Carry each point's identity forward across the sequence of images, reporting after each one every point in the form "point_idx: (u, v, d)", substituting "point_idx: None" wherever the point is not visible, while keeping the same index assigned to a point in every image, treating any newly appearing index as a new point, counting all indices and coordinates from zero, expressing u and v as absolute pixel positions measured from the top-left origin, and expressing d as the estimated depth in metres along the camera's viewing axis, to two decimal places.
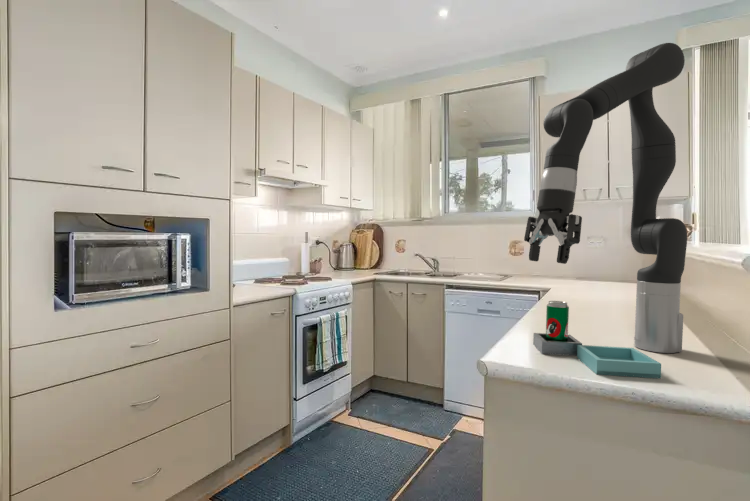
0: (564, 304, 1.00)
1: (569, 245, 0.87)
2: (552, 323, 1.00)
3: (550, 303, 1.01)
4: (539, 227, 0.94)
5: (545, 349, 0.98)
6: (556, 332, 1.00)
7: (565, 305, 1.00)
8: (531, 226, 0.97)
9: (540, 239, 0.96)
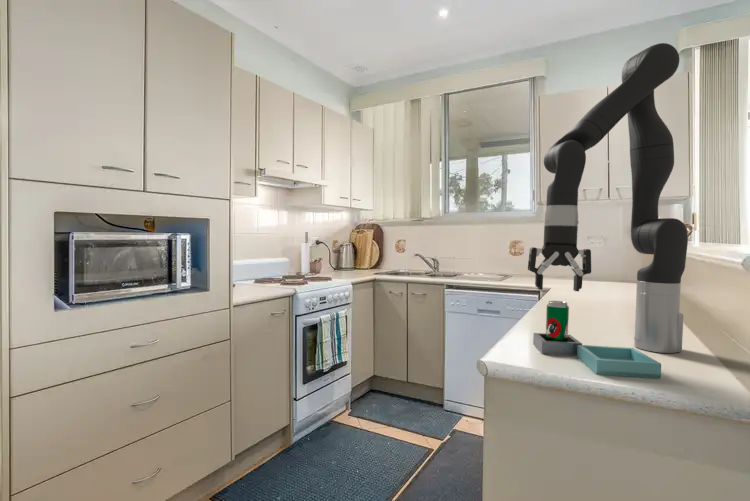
0: (564, 304, 1.00)
1: None
2: (552, 323, 1.00)
3: (550, 303, 1.01)
4: (552, 259, 1.00)
5: (545, 349, 0.98)
6: (556, 332, 1.00)
7: (565, 305, 1.00)
8: None
9: None
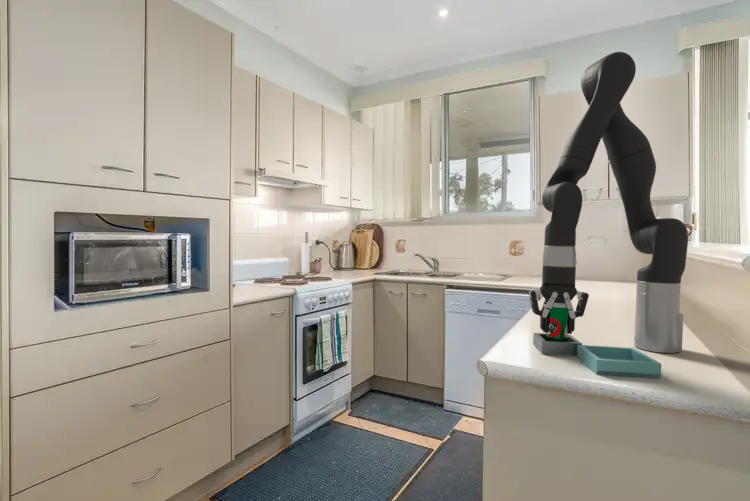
0: (564, 304, 1.00)
1: None
2: (552, 323, 1.00)
3: None
4: (553, 300, 1.00)
5: (545, 349, 0.98)
6: (556, 332, 1.00)
7: (565, 305, 1.00)
8: None
9: None
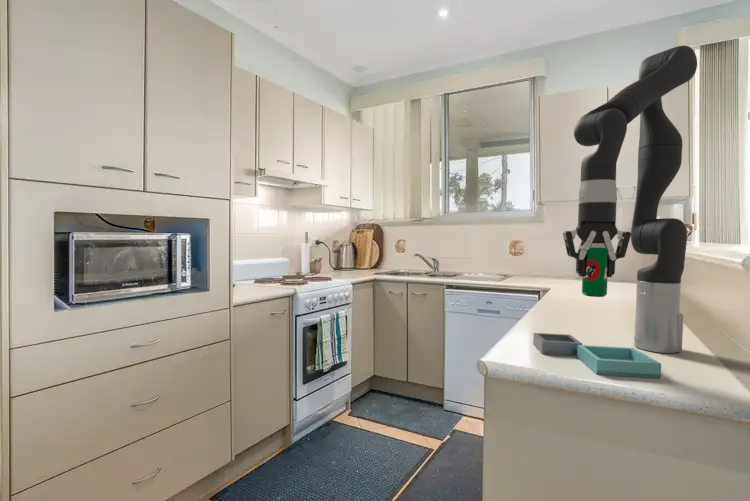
0: (603, 244, 0.91)
1: None
2: (590, 265, 0.92)
3: None
4: (591, 240, 0.92)
5: (545, 349, 0.98)
6: (595, 275, 0.91)
7: (604, 245, 0.91)
8: None
9: None
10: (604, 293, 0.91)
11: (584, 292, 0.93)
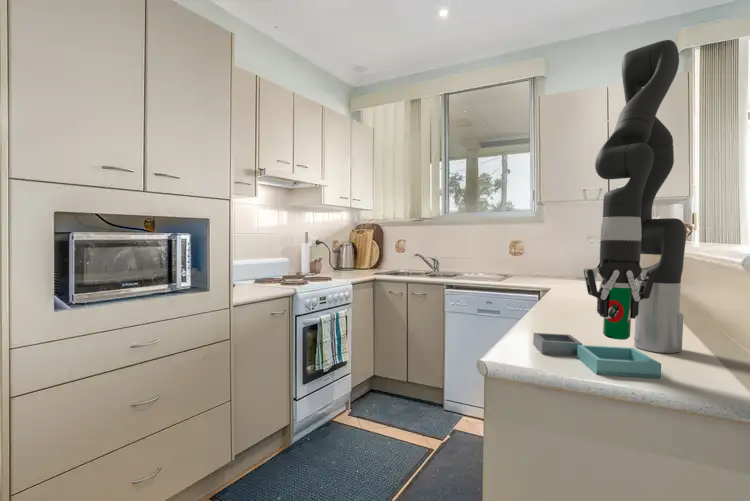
0: (627, 284, 0.87)
1: None
2: (613, 306, 0.87)
3: None
4: (614, 279, 0.87)
5: (545, 349, 0.98)
6: (618, 317, 0.86)
7: (628, 285, 0.87)
8: None
9: None
10: (628, 336, 0.87)
11: (606, 334, 0.88)
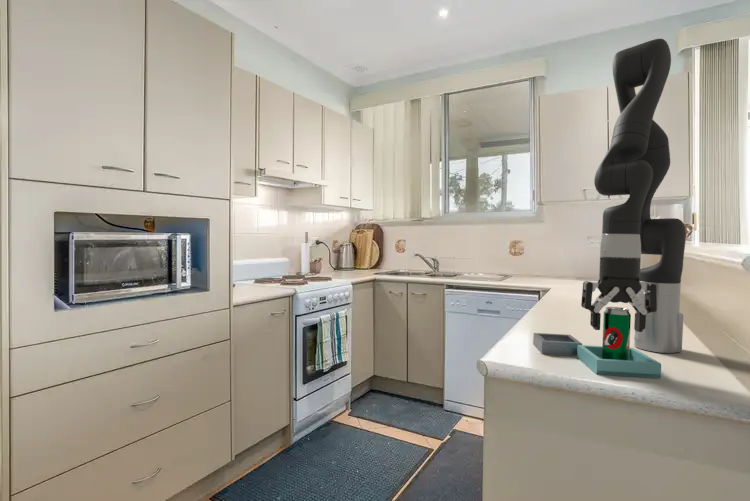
0: (626, 311, 0.87)
1: None
2: (612, 333, 0.87)
3: (609, 310, 0.88)
4: (611, 295, 0.87)
5: (545, 349, 0.98)
6: (617, 343, 0.87)
7: (627, 312, 0.87)
8: None
9: None
10: None
11: None
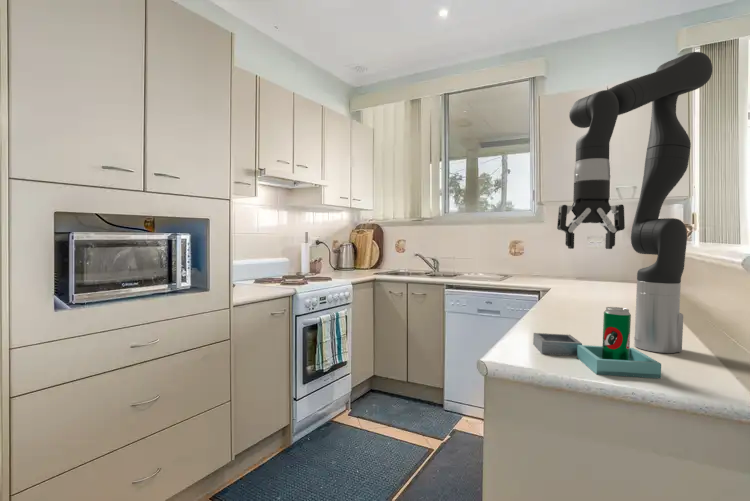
0: (626, 311, 0.87)
1: None
2: (612, 333, 0.87)
3: (609, 310, 0.88)
4: (584, 216, 0.96)
5: (545, 349, 0.98)
6: (617, 344, 0.87)
7: (627, 312, 0.87)
8: None
9: None
10: None
11: None
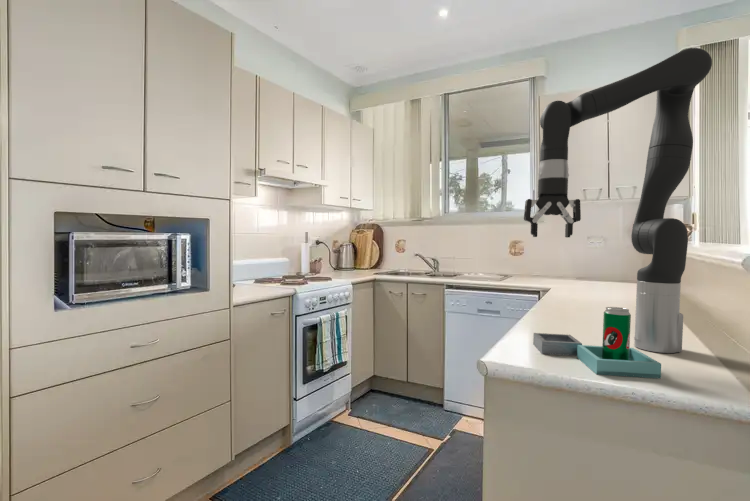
0: (626, 311, 0.87)
1: None
2: (612, 333, 0.87)
3: (609, 310, 0.88)
4: (546, 209, 1.11)
5: (545, 349, 0.98)
6: (617, 344, 0.87)
7: (627, 312, 0.87)
8: None
9: None
10: None
11: None
